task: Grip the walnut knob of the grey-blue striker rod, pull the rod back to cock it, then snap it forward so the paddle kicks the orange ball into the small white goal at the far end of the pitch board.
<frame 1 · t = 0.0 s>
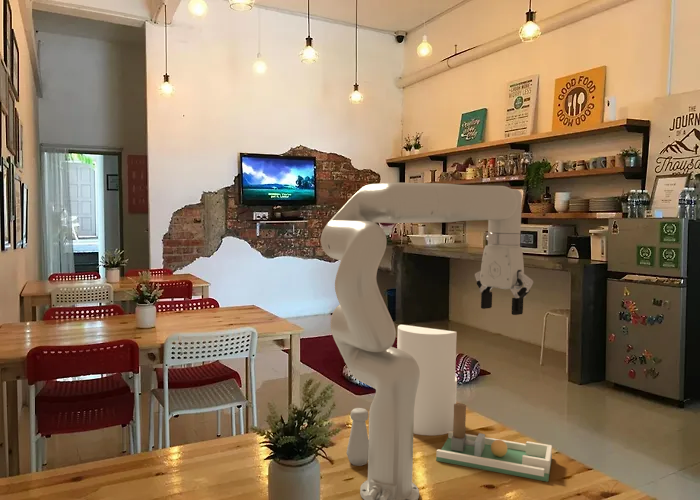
hand: (501, 311, 137), 37 cm above the table, tool pointing down, fingers open, 9 cm apart
salt shaker: (358, 463, 137), on the table
pitch: (494, 459, 140), on the table
ball: (499, 448, 140), point 3 cm above the table, touching pitch
striker: (468, 428, 142), point 7 cm above the table, slide at 2.0 cm
cylinder: (425, 424, 163), on the table
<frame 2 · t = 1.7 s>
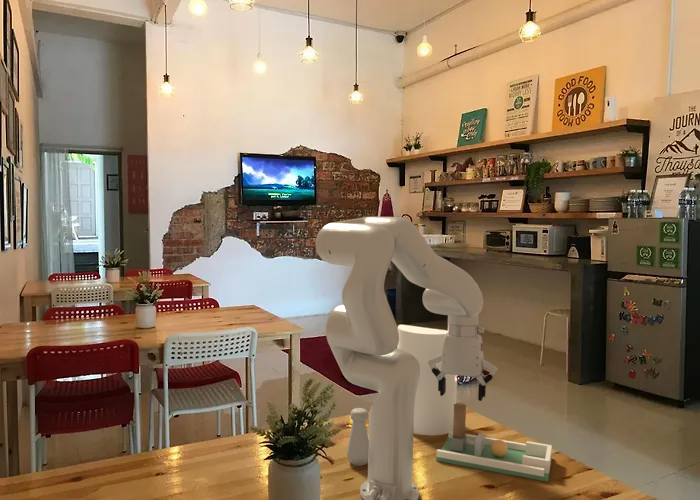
hand: (461, 396, 143), 14 cm above the table, tool pointing down, fingers open, 9 cm apart
nothing on the table moved.
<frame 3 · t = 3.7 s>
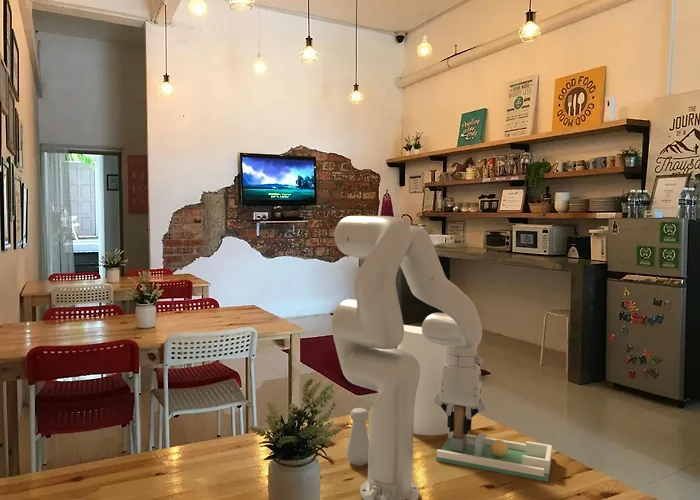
hand: (459, 430, 143), 6 cm above the table, tool pointing down, fingers closed on striker, 3 cm apart
striker: (468, 428, 142), point 7 cm above the table, slide at 2.0 cm, touching gripper
everything else where it was.
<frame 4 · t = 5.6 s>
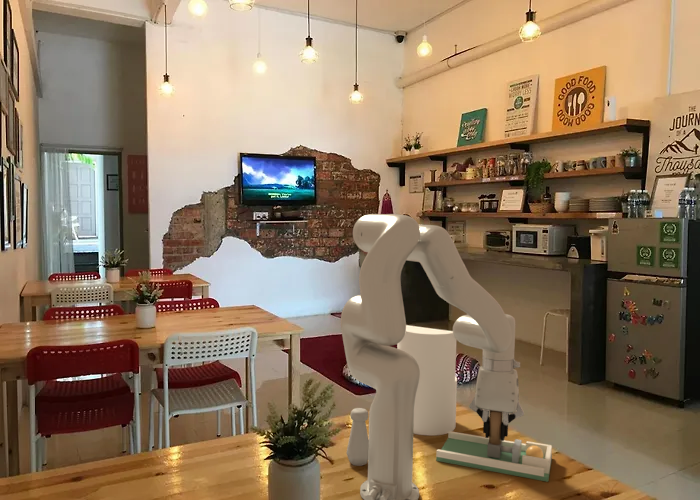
hand: (495, 436, 140), 6 cm above the table, tool pointing down, fingers closed on striker, 3 cm apart
ball: (534, 454, 136), point 3 cm above the table, tilted 176°, touching pitch
striker: (504, 434, 139), point 7 cm above the table, slide at 11.0 cm, touching gripper
everything else where it was.
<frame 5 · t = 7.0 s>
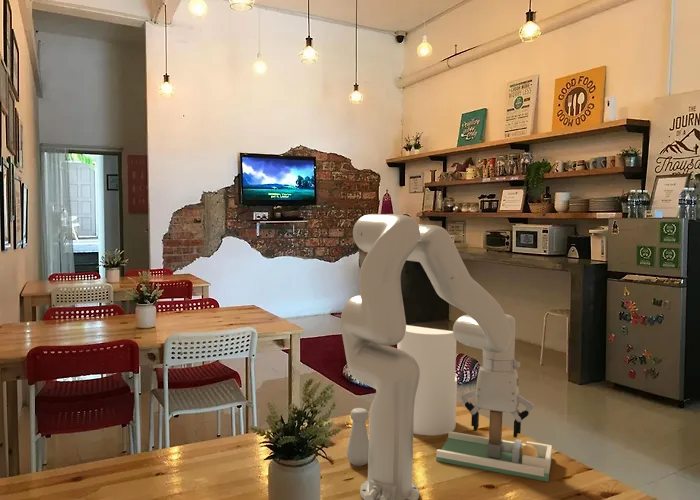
hand: (495, 432, 140), 7 cm above the table, tool pointing down, fingers open, 9 cm apart
ball: (528, 453, 137), point 3 cm above the table, tilted 146°, touching pitch
striker: (504, 434, 139), point 7 cm above the table, slide at 11.0 cm
everything else where it was.
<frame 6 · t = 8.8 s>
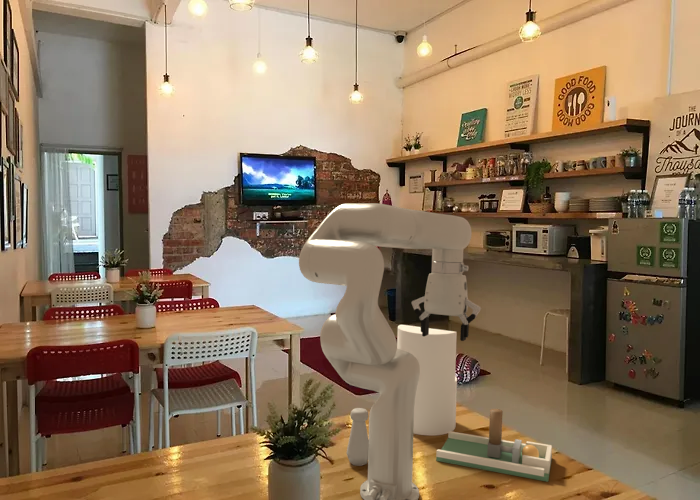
hand: (444, 337, 140), 30 cm above the table, tool pointing down, fingers open, 9 cm apart
ball: (530, 453, 137), point 3 cm above the table, tilted 156°, touching pitch
everything else where it was.
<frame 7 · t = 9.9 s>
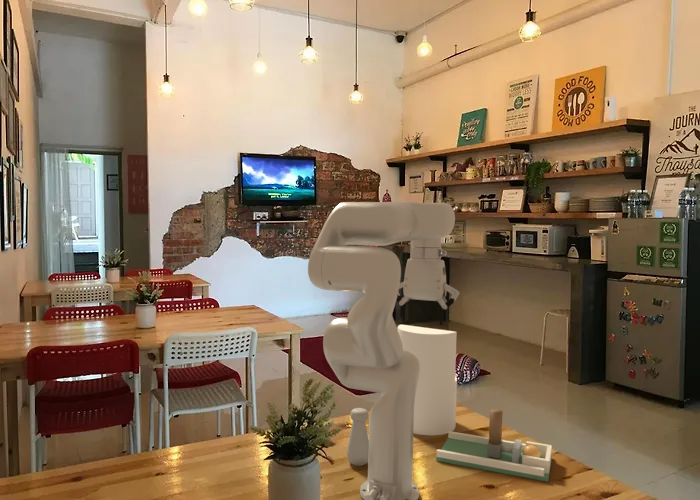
hand: (423, 322, 141), 33 cm above the table, tool pointing down, fingers open, 9 cm apart
ball: (531, 453, 137), point 3 cm above the table, tilted 162°, touching pitch
everything else where it was.
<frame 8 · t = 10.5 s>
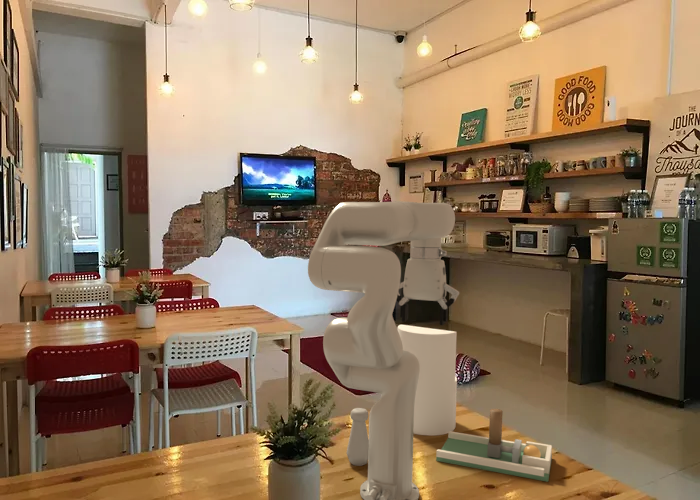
hand: (423, 322, 141), 33 cm above the table, tool pointing down, fingers open, 9 cm apart
nothing on the table moved.
at the end: ball inside the target area (0.4 cm from its centre), point 3.0 cm above the table; striker slide at 11.0 cm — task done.
